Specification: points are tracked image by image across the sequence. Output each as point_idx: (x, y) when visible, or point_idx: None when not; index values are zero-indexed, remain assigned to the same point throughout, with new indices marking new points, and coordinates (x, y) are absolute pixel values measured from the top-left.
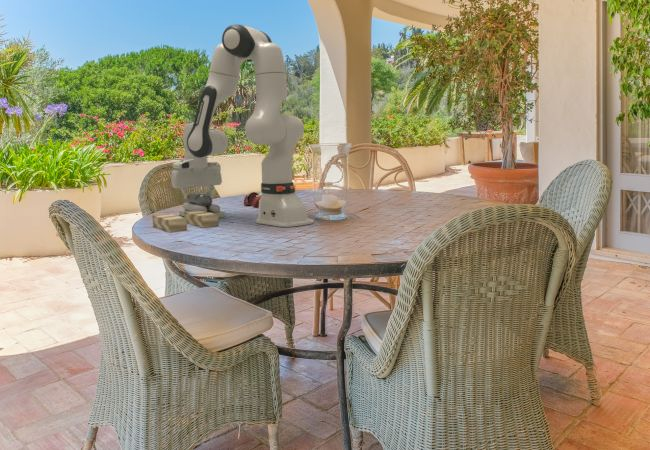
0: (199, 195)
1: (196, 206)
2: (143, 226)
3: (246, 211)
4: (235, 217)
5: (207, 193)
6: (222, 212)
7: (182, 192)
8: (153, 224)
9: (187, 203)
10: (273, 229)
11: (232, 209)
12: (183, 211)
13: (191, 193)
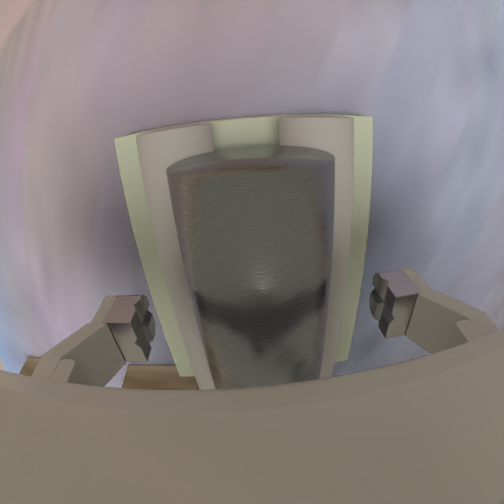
0: None
1: (196, 369)
2: (3, 339)
3: (492, 246)
4: (363, 367)
5: (390, 310)
6: (336, 361)
7: (65, 341)
8: (28, 363)
9: (162, 204)
10: None
11: (499, 131)
12: (135, 207)
13: (214, 210)
